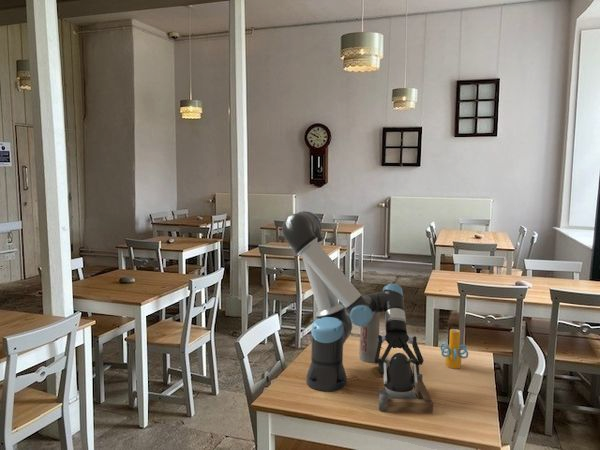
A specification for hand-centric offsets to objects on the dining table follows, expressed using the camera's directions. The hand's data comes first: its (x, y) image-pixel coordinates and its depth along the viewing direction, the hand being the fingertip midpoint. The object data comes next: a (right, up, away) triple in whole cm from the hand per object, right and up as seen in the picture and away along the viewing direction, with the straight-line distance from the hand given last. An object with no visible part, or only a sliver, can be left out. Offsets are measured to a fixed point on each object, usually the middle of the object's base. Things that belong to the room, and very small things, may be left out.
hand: (400, 383), depth 169 cm
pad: (0, -7, +4) cm, 8 cm away
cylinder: (+29, -4, +34) cm, 45 cm away
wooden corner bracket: (+1, -7, +5) cm, 8 cm away
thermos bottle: (-5, -3, +41) cm, 41 cm away
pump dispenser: (0, -6, +4) cm, 7 cm away
